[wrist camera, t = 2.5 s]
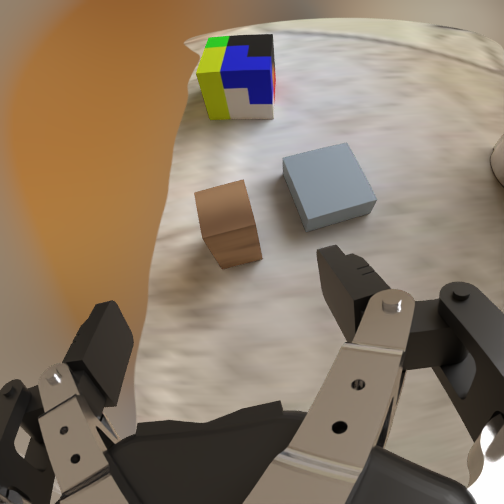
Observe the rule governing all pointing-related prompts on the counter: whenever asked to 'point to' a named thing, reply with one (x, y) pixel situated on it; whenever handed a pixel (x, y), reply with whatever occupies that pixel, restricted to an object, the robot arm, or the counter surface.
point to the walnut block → (228, 224)
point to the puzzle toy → (238, 77)
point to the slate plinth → (328, 186)
